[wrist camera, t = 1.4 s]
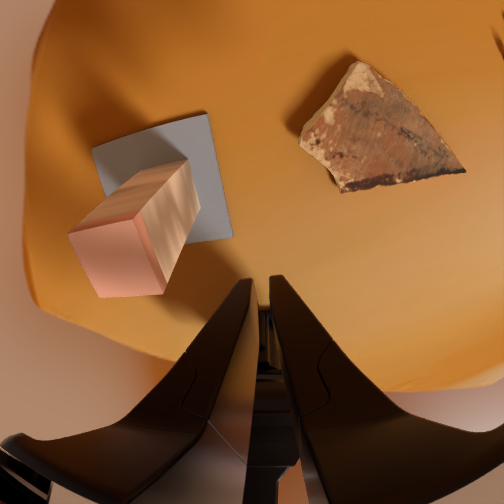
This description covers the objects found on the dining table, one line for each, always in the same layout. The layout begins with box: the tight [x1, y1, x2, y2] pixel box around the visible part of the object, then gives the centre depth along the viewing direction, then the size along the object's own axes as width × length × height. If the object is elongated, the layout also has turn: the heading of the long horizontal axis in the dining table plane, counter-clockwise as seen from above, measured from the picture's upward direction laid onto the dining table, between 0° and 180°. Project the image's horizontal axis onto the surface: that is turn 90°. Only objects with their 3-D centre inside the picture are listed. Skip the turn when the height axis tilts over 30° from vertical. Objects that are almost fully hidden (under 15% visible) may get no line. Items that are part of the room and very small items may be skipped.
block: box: [67, 159, 201, 298], centre depth 16 cm, size 4×4×10 cm
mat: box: [91, 114, 233, 244], centre depth 20 cm, size 10×10×1 cm
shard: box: [298, 61, 466, 194], centre depth 18 cm, size 13×9×2 cm
